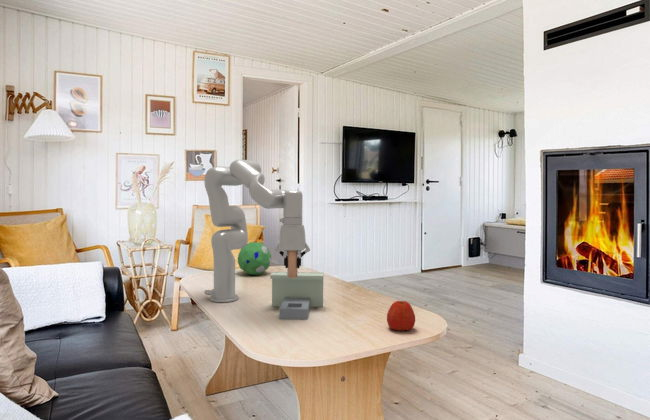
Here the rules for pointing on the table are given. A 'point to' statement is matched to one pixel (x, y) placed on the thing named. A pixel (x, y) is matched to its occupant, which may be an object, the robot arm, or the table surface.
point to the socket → (294, 308)
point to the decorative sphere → (254, 258)
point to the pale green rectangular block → (297, 287)
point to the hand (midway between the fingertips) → (292, 267)
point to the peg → (292, 264)
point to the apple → (401, 316)
